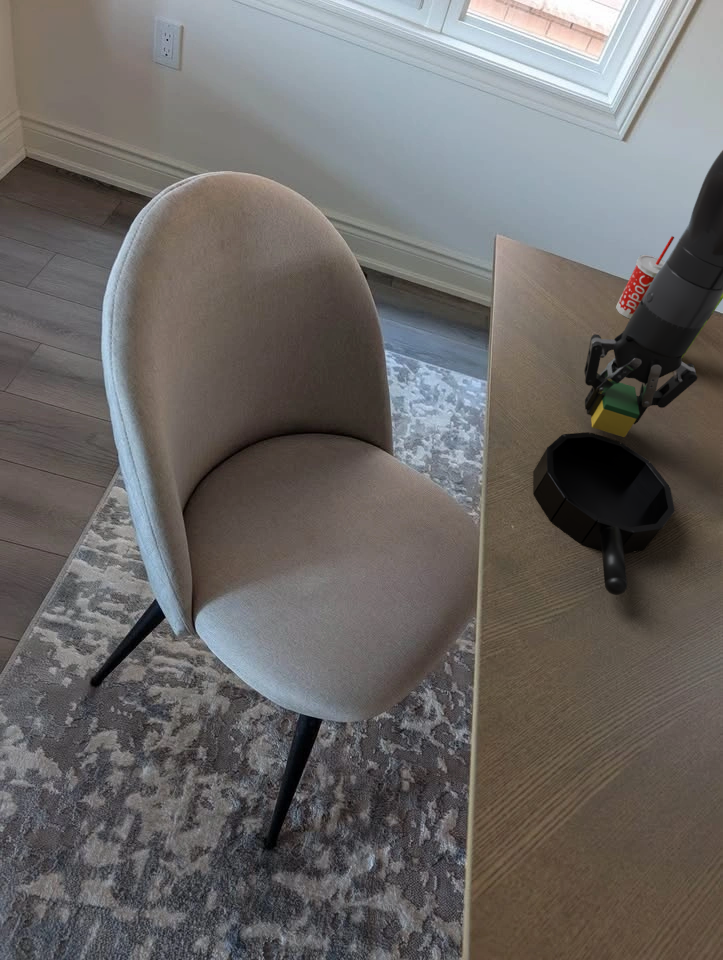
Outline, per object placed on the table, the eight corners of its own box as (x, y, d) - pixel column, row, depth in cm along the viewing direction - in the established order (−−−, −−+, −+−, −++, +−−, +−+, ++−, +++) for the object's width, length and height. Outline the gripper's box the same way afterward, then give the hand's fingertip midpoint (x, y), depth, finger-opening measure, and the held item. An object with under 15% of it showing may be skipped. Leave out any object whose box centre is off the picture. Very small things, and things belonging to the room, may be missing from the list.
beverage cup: (605, 305, 127) (647, 229, 117) (623, 298, 130) (666, 224, 121) (634, 326, 124) (680, 250, 114) (652, 317, 128) (698, 243, 118)
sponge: (589, 400, 101) (602, 376, 98) (620, 409, 101) (635, 386, 99) (591, 427, 97) (606, 404, 94) (624, 437, 97) (639, 414, 94)
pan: (533, 441, 96) (546, 417, 93) (648, 477, 96) (664, 454, 94) (532, 587, 78) (549, 564, 76) (672, 630, 79) (694, 608, 76)
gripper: (727, 309, 90) (654, 415, 102) (614, 273, 90) (555, 384, 101) (739, 342, 85) (661, 451, 96) (620, 304, 84) (556, 418, 96)
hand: (607, 416), depth 99 cm, fingers closed on sponge, 4 cm apart
